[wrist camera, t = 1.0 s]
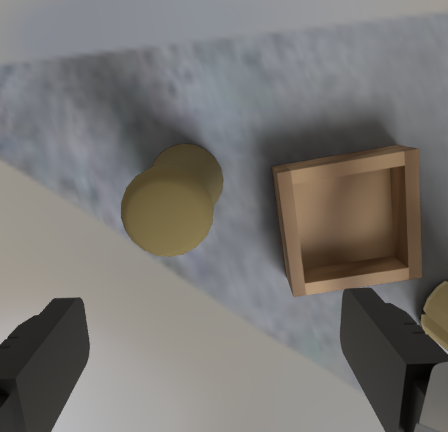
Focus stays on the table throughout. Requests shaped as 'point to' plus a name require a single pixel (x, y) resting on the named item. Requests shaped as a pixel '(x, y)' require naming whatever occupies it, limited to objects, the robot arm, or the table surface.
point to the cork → (173, 201)
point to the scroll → (437, 315)
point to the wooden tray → (350, 219)
